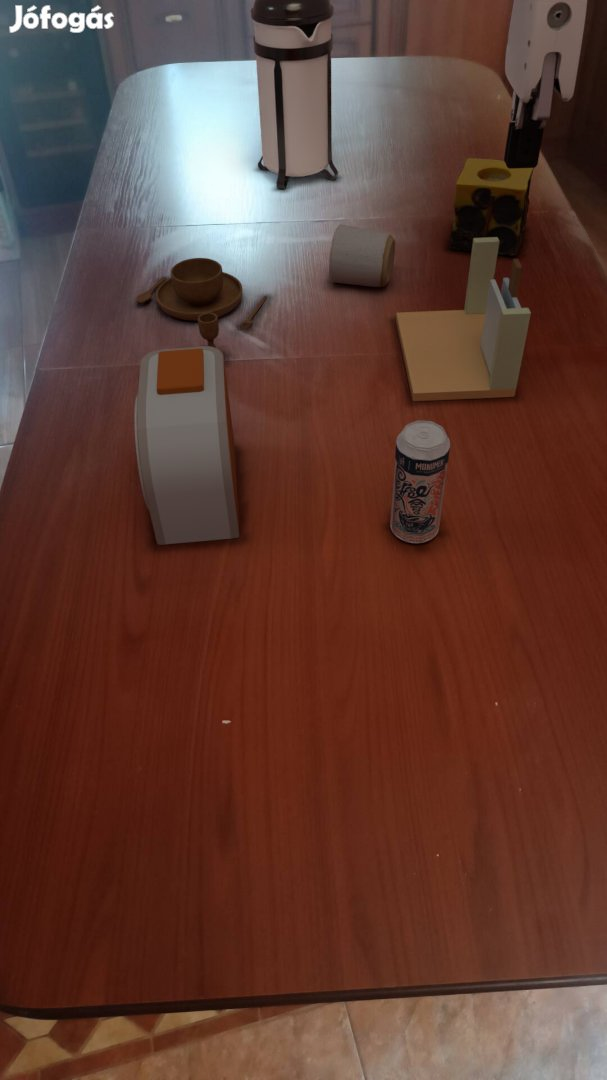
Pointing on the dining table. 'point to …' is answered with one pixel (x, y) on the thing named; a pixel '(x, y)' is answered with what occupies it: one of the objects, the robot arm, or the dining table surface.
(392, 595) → the dining table surface
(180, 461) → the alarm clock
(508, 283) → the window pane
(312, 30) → the coffee press
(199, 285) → the place setting
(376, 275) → the grey cylinder
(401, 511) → the beer can
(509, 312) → the bookend with square base
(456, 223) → the yellow cube with holes
